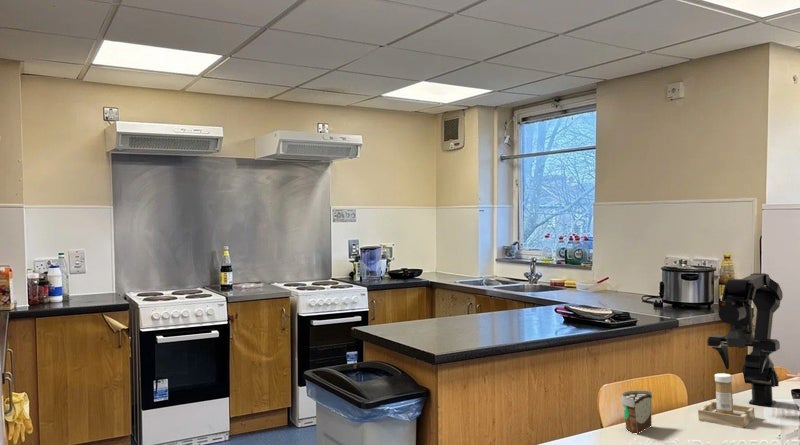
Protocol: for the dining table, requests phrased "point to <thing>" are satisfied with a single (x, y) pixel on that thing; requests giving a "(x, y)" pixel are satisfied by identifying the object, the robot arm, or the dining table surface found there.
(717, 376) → the sprinkles bottle
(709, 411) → the box
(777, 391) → the dining table surface
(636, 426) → the food container
